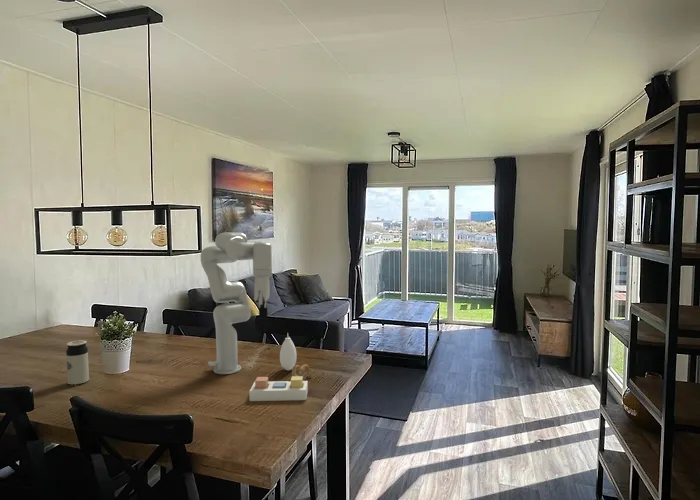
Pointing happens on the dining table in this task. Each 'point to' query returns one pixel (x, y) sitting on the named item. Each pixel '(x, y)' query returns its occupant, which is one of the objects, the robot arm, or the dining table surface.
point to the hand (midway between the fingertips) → (263, 316)
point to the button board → (279, 392)
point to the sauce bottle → (288, 354)
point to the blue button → (279, 385)
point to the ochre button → (296, 381)
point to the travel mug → (77, 362)
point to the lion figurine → (301, 370)
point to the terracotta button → (261, 383)
